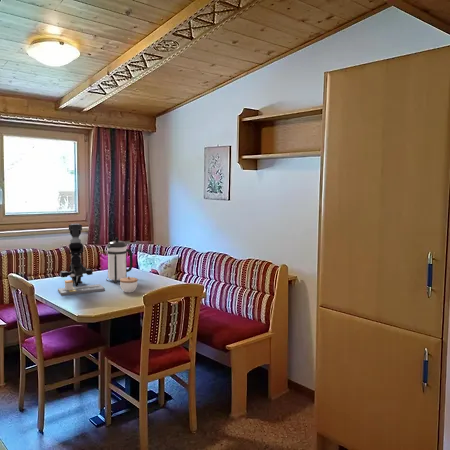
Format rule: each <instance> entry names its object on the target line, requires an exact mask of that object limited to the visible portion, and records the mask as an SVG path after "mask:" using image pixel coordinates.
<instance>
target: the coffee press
mask: <svg viewBox="0 0 450 450" xmlns="http://www.w3.org/2000/svg"><path fill="white" fill-rule="evenodd" d="M127 245H128V244H126V242H125V241H124V240H119V237H115V239H114V240H112V241H110V242H108V243H107V249H106V251H107V278H106V281H107V282H108V281H109V280H111V281H114V284H117V283H118V281H120V279H122V278H127V277H128V276H127V273H129V272H130V271H132V269H133V266H134V265H133V264H134V263H133V262H134V261H133V257H134V256H133V251H132V250H131V249H128V248H127V247H128V246H127ZM127 252H128V254H129V267H128V268H127V265H128V264H127V261H128V260H127Z"/></svg>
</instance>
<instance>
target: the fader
mask: <svg viewBox="0 0 450 450" xmlns="http://www.w3.org/2000/svg"><path fill="white" fill-rule="evenodd" d="M73 287H74V284H73V281H72V279H67V280H64V288H65V289H66V290H73Z"/></svg>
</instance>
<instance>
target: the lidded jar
mask: <svg viewBox="0 0 450 450" xmlns="http://www.w3.org/2000/svg"><path fill="white" fill-rule="evenodd" d="M138 280H139V279H138V278H137V277H131V276H127V278H122V279H120V280H119V284H120V288H121V290H122V291H123V292H124V293H133V292H134V291H135V290H137V287H138Z"/></svg>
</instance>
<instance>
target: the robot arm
mask: <svg viewBox="0 0 450 450" xmlns="http://www.w3.org/2000/svg"><path fill="white" fill-rule="evenodd" d="M82 231H83V224H81V223H70V224H68V232H69V234H70V236H71V239H70V243H69V244H68V246H69V247H68V250H69V251H68V253H69V254H70V265H69V271H67V270H61V271H59V276H60V278H67V277H70V278H71V280H72V281H73V285H75V286H74V287H78V286H79V284H81V283H83V281H82V278H83V277H84V274H86V275H87V276H90V275H92V276H93V270H92V269H91V268H87V267H86V266H83V265H84V264H83V263H82V254H83V252H84V244H83V243H82V240H81V239H80V235H81V233H82Z"/></svg>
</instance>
